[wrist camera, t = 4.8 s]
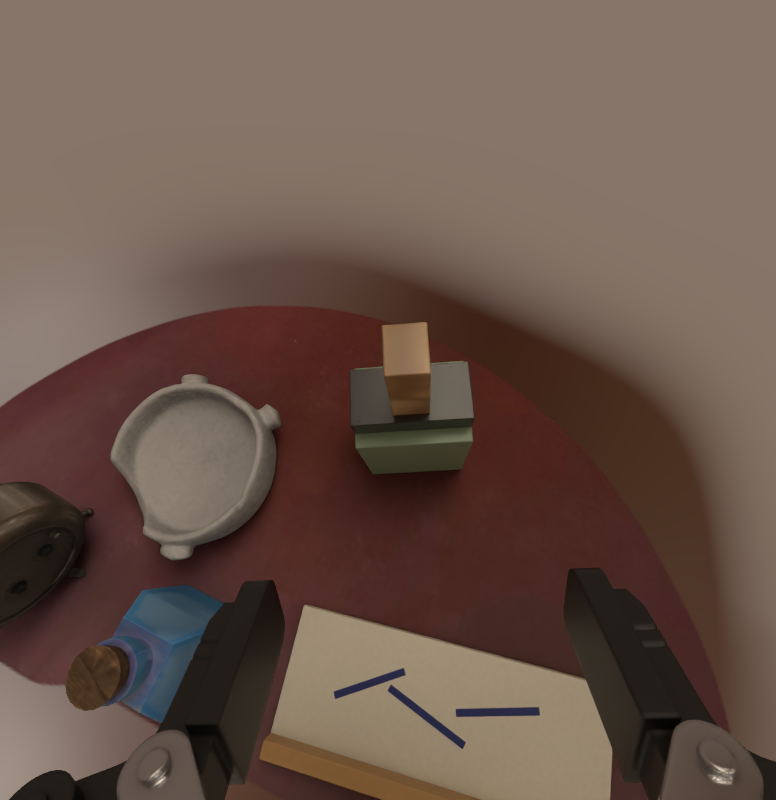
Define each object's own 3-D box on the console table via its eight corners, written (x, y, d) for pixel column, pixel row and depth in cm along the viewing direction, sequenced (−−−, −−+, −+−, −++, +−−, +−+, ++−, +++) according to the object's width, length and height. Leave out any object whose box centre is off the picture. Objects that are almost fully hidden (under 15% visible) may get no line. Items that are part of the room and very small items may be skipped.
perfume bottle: (249, 616, 35) (167, 644, 24) (212, 696, 34) (105, 767, 22) (187, 584, 37) (82, 597, 25) (148, 660, 35) (16, 711, 24)
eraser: (465, 373, 30) (479, 308, 22) (471, 427, 29) (488, 378, 21) (354, 381, 31) (329, 320, 23) (355, 434, 30) (328, 389, 22)
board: (611, 685, 32) (623, 694, 30) (603, 854, 29) (616, 877, 27) (306, 603, 35) (298, 606, 33) (269, 746, 32) (258, 759, 30)
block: (455, 405, 40) (464, 360, 31) (461, 469, 38) (473, 441, 29) (370, 411, 41) (354, 368, 31) (372, 474, 39) (355, 448, 29)
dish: (210, 578, 37) (179, 581, 32) (110, 481, 40) (69, 472, 36) (318, 444, 40) (304, 430, 35) (216, 366, 44) (191, 344, 39)
